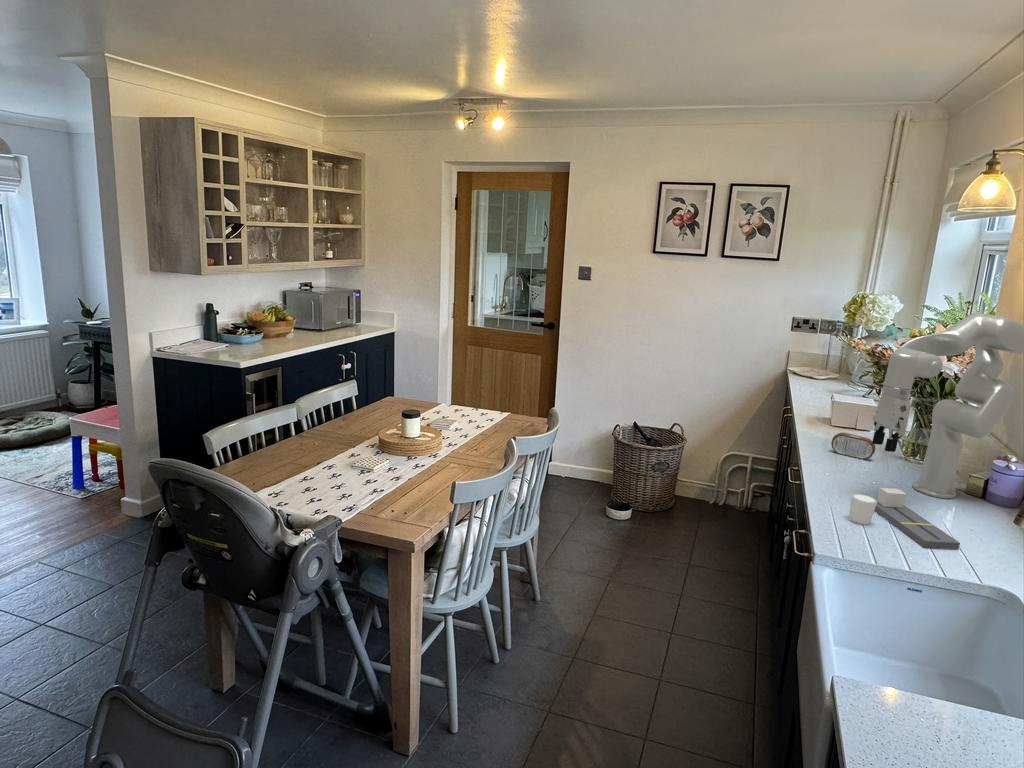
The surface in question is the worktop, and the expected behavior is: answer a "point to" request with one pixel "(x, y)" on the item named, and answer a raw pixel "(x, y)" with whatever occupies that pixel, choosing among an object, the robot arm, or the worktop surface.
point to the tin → (853, 446)
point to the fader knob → (891, 497)
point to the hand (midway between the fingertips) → (883, 447)
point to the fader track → (917, 527)
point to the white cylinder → (862, 508)
